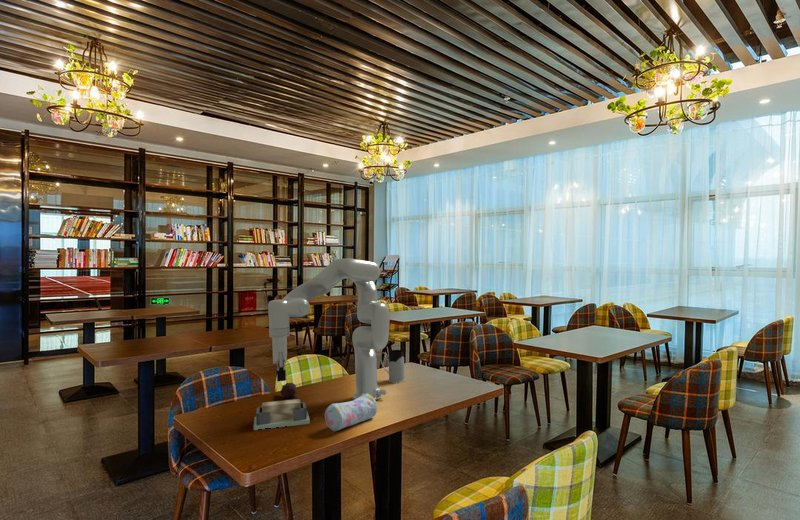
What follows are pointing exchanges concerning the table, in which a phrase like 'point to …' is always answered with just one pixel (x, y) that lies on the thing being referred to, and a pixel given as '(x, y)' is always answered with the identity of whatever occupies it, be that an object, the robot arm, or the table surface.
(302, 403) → the end caps
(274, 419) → the beige long block
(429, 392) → the table surface
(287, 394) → the icecream
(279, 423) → the base board
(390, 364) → the glass holder
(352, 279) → the robot arm
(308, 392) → the table surface
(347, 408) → the pencil case
